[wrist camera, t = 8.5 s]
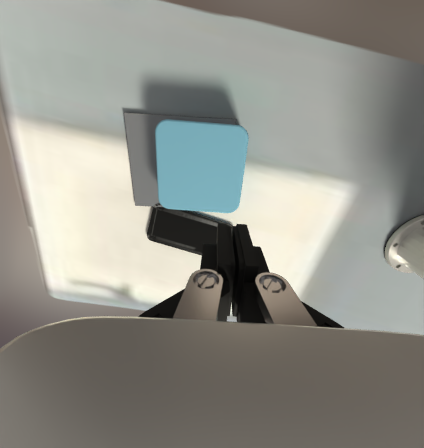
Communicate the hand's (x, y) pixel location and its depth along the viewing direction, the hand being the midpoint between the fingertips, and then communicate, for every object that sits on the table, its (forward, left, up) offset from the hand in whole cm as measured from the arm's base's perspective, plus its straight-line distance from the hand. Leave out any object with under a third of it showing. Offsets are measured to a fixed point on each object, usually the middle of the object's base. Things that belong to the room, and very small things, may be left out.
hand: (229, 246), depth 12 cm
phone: (+4, +11, -23) cm, 26 cm away
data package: (-3, -1, -20) cm, 20 cm away
